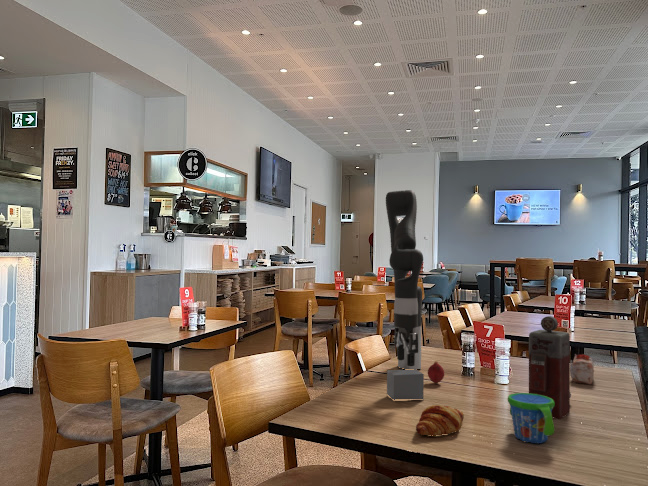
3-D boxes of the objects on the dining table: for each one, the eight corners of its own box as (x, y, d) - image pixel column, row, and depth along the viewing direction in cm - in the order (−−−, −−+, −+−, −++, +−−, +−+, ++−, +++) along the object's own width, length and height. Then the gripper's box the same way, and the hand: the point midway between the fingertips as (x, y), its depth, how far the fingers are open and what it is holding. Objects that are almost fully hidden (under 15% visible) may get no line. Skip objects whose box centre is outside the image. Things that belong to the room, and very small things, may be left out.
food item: (594, 386, 179) (594, 358, 179) (569, 383, 182) (569, 356, 183) (593, 378, 191) (593, 352, 191) (570, 375, 194) (570, 350, 195)
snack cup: (497, 428, 132) (497, 389, 132) (536, 428, 133) (536, 389, 133) (524, 451, 117) (524, 407, 117) (568, 451, 117) (568, 407, 117)
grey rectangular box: (386, 396, 161) (387, 370, 161) (415, 395, 163) (415, 369, 164) (393, 402, 155) (394, 375, 155) (423, 400, 157) (423, 373, 157)
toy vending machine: (525, 414, 145) (525, 316, 146) (538, 405, 153) (538, 313, 154) (558, 421, 139) (558, 319, 140) (569, 412, 147) (569, 316, 148)
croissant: (452, 431, 140) (440, 402, 143) (482, 421, 134) (469, 392, 137) (409, 449, 125) (397, 417, 128) (441, 439, 119) (428, 406, 122)
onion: (445, 386, 175) (446, 363, 176) (429, 385, 176) (429, 362, 176) (442, 381, 181) (442, 359, 182) (426, 381, 181) (426, 359, 182)
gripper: (387, 309, 166) (386, 358, 166) (403, 315, 152) (402, 368, 152) (408, 308, 167) (408, 357, 167) (426, 314, 154) (425, 367, 153)
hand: (405, 362), depth 160 cm, fingers open, 8 cm apart
